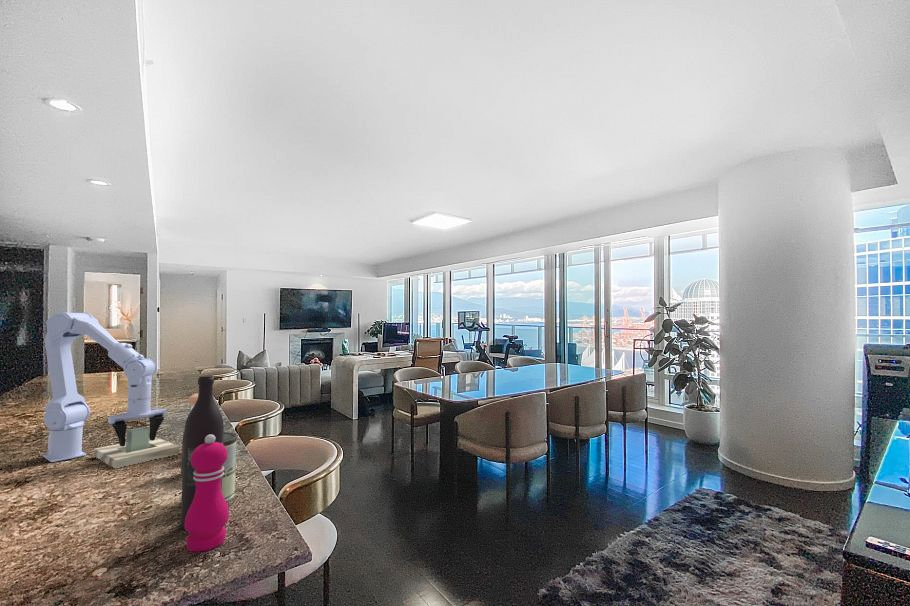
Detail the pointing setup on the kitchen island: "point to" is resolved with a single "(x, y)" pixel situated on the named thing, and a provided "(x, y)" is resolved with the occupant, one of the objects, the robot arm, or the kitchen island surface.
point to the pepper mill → (207, 498)
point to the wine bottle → (199, 437)
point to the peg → (137, 439)
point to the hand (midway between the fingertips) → (137, 442)
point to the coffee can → (229, 466)
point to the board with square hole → (135, 453)
